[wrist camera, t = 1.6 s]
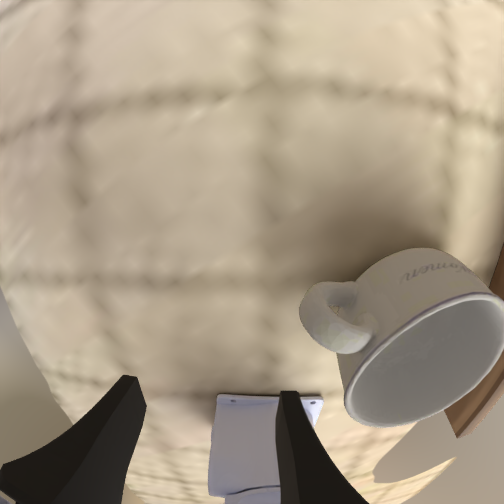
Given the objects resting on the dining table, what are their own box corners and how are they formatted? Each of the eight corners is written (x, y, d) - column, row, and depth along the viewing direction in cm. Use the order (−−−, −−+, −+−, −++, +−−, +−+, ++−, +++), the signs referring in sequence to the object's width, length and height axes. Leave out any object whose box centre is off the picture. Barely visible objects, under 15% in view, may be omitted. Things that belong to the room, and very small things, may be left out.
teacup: (470, 284, 19) (525, 343, 12) (380, 371, 23) (407, 444, 15) (364, 164, 16) (437, 198, 9) (253, 294, 20) (250, 387, 12)
